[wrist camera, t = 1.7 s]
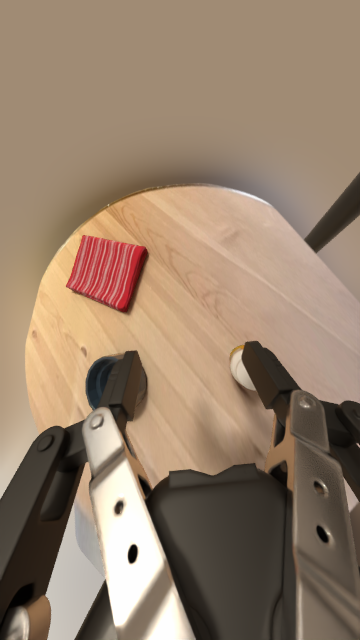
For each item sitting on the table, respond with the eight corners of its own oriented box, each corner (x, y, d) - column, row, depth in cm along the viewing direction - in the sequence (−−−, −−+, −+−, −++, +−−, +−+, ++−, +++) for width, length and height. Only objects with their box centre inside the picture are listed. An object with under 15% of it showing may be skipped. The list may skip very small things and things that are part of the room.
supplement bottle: (268, 359, 25) (291, 375, 16) (246, 380, 26) (257, 407, 17) (242, 338, 27) (250, 342, 17) (223, 358, 27) (221, 372, 18)
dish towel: (129, 314, 36) (122, 313, 33) (71, 290, 43) (61, 287, 41) (151, 249, 35) (145, 243, 32) (88, 237, 43) (79, 231, 40)
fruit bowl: (112, 345, 37) (95, 347, 32) (154, 365, 32) (141, 371, 28) (98, 393, 37) (79, 402, 32) (138, 419, 33) (122, 433, 28)
